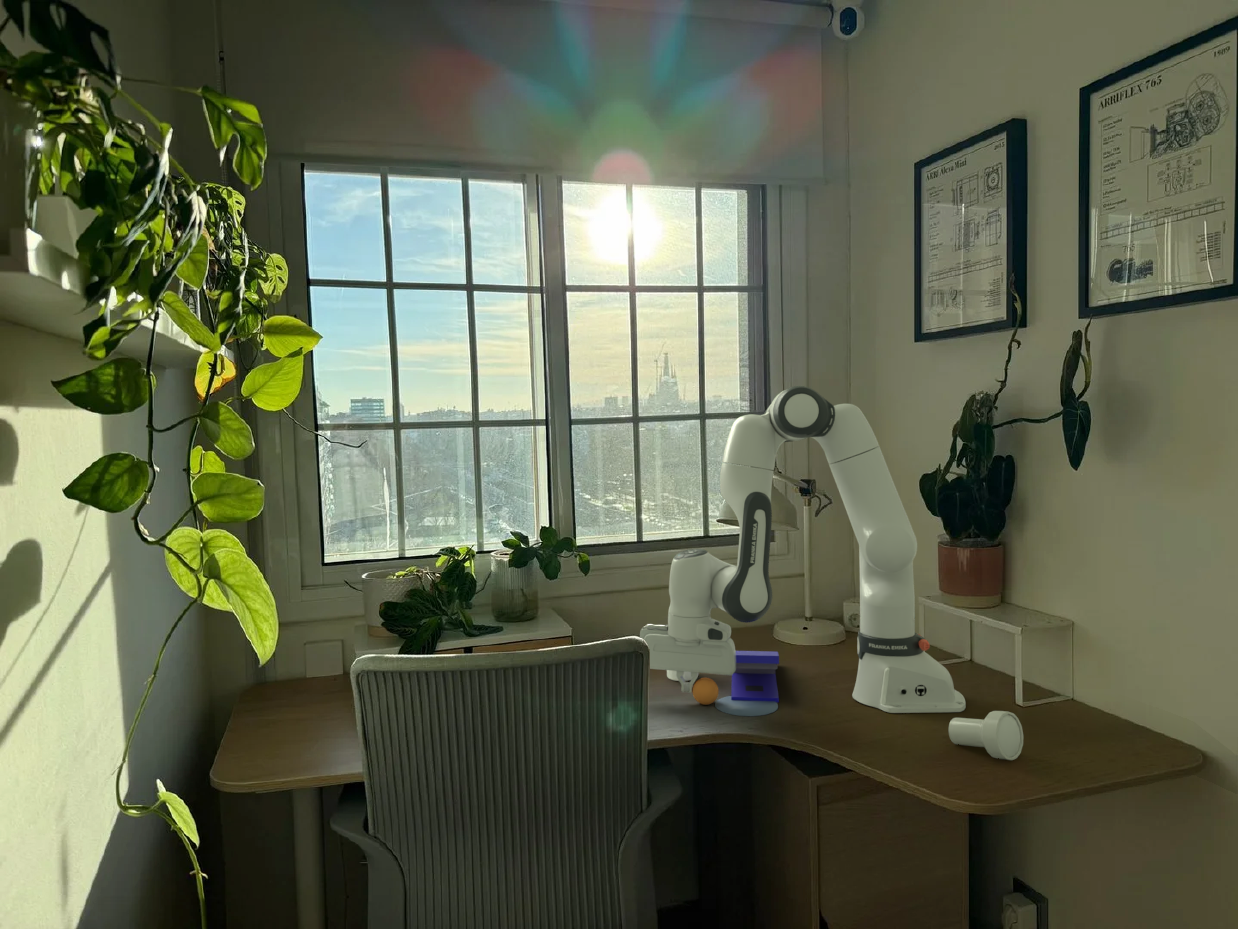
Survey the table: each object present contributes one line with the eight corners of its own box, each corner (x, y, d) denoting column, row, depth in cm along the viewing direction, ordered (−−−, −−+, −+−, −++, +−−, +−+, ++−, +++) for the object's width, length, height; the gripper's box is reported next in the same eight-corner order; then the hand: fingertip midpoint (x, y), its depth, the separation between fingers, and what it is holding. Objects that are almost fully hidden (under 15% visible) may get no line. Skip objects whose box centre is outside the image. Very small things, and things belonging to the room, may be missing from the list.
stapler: (728, 703, 184) (727, 657, 184) (729, 665, 212) (729, 625, 211) (783, 704, 183) (783, 658, 182) (777, 666, 210) (777, 626, 210)
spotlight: (1001, 761, 147) (997, 712, 148) (942, 755, 156) (940, 708, 158) (1028, 759, 151) (1024, 711, 153) (970, 753, 160) (967, 707, 162)
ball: (708, 704, 185) (724, 686, 184) (706, 713, 180) (723, 694, 179) (688, 687, 186) (704, 669, 185) (685, 696, 180) (702, 677, 180)
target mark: (778, 697, 186) (778, 696, 186) (777, 718, 173) (777, 717, 173) (718, 694, 189) (718, 693, 189) (711, 714, 176) (711, 713, 176)
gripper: (637, 626, 182) (635, 691, 182) (735, 633, 177) (733, 700, 178) (643, 620, 188) (641, 683, 188) (738, 627, 184) (736, 691, 184)
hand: (687, 691), depth 183 cm, fingers closed
